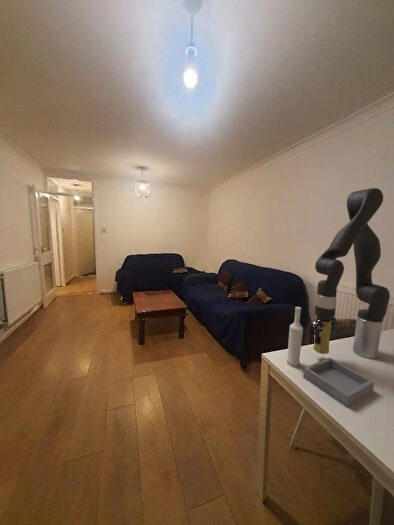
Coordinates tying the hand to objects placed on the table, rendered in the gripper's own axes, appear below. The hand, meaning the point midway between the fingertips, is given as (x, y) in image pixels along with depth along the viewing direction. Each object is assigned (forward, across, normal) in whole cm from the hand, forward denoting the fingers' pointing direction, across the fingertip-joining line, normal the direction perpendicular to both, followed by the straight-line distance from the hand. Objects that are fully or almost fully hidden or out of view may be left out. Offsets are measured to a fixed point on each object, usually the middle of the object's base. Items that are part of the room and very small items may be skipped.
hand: (321, 341), depth 95 cm
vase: (+4, 0, 0) cm, 4 cm away
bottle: (+8, +14, -3) cm, 16 cm away
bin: (+8, +10, +13) cm, 18 cm away
